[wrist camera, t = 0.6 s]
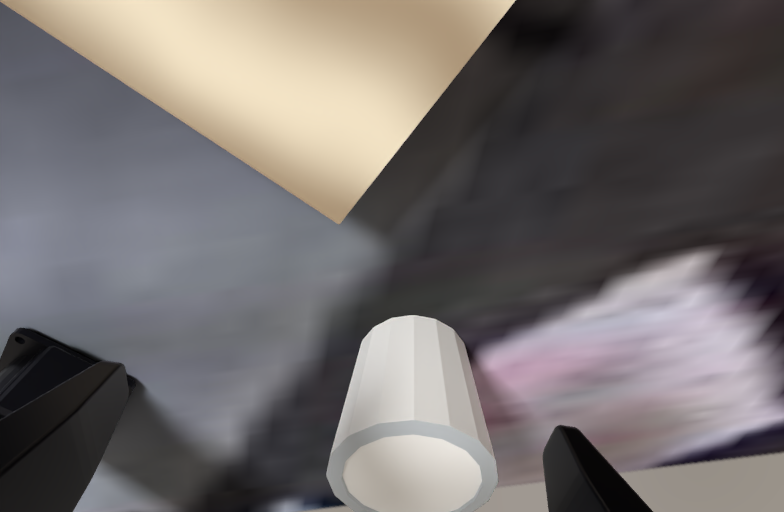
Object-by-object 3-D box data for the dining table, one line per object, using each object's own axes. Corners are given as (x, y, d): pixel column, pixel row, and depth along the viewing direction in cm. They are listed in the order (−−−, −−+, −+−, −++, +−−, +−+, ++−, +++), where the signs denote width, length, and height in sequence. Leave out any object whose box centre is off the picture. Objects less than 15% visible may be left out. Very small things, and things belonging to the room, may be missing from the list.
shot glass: (503, 332, 24) (533, 455, 18) (443, 417, 27) (451, 544, 21) (375, 286, 23) (361, 400, 17) (329, 380, 26) (303, 504, 20)
